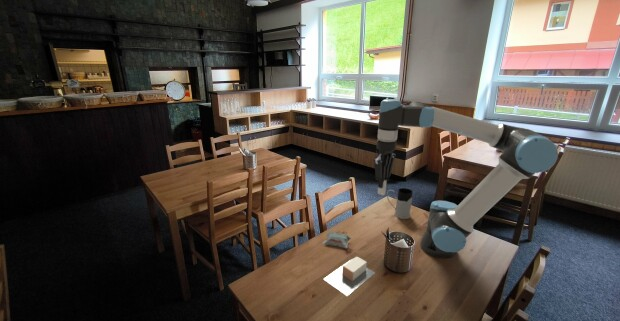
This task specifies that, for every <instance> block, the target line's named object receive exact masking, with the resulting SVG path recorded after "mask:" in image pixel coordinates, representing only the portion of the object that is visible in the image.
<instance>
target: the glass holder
mask: <svg viewBox="0 0 620 321" xmlns="http://www.w3.org/2000/svg"><path fill="white" fill-rule="evenodd" d="M390 191H391V192H393V196H394V198H395V199H396V205H393V203H391V201H390V198H389V192H390ZM386 196H387V201H388V202H389V204H390V205H391V206H392V208H394V211H395V212H394V216H395V218H399V219H401V220H408V219H410V218H411V208H412V201H413V190H412V189H410V188H403V187H402V188H399V189H398V191H397V197H396V192H395V191H394V190H393V189H389V190H387V193H386Z"/></svg>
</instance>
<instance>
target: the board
mask: <svg viewBox="0 0 620 321" xmlns="http://www.w3.org/2000/svg"><path fill="white" fill-rule="evenodd" d="M352 259H353V258H351V259H349V260H348V261H347V262H345V263H344V264H342V265H341V266H340V267H338V268H336V269H335V270H334V271H332V272H331V273H330V274H328V275H327V276H326V277H324V278H323V280H324V281H325V282H327V284H329V285H331V286H332V287H333V288H335V289H336V290H338V291H339V292H340V293H341V294H343V295H345V297H348V296H350V294H352V293H353V292H354V291H356V290H357V289H358V288H359V287H360V286H362V285H363V284H365V282H366V281H367V280H369V279H370V278H371V277H372V276H374V275H375V274H376V272H375V271H373V270H371V269H370V268H368V267H367V266H366V271H364V272H363V273H362V274H361V275H359V276H358V277H357V278H356V279H354V280H353V281H351V280H350V279H348V278H347V277H345V276H344V275H342V273H343V266H344V265H345V264H347V263H348V262H350V261H351V260H352Z"/></svg>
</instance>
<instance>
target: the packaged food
mask: <svg viewBox="0 0 620 321" xmlns="http://www.w3.org/2000/svg"><path fill="white" fill-rule="evenodd" d="M326 237H327V238H326V239H325V240H324V241H323V242H321V244H322V245H326V246H334V247H339V248H342V249H348V244H349V243H348V242H349V241H350V240H352V238H351V237H350V236H349V235H347V234H345V233H339V232H335V231H329V232H328V233H327V234H326Z"/></svg>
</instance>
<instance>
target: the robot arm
mask: <svg viewBox="0 0 620 321" xmlns="http://www.w3.org/2000/svg"><path fill="white" fill-rule="evenodd" d="M399 126H401V127H402V126H403V127H415V128H431V127H434V128H437V129H440V130H443V131H447V132H450V133H453V134H457V135H460V136H463V137H466V138H469V139H474V140H476V141H481V142H483V143H486V144H488V146H489V147H490V148H494V149H497V150H499V151H501V152H502V153H501V155H499V157H498V164H497V165H496V166H495V167H494V168H493V169H492V170H491V171H490V172H489V173H488V174H487V175H486V176H485V177H484V178H483V179H482V180H481V181H480V183H479V184H477V185H476V186H475V187H474V188H473V189H472V190H471V192H470V193H469V194H468V195H466V196H465V197H464V198H463V200H461V202H460V203H459V204H458V205H457V204H456V203H454V202H450V201H447V200H434V201H432V202H431V204H430V207H429V214H428V218H427V219H428V220H427V225H426V231H425V232H424V234H423V235H422V237H421V239H420V245H419V246H420V247H421V249H422V250H423V251H424V252H425V253H427V254H428V255H430V256H432V257H437V258H442V259H449V258H452V257H453V256H455V255H456V253H457V252H460V251H462V250H464V248H465V247H466V244H467V238H468V237H469V236H470V235H471V234H472V233H473V232H474V225H475V224H476V223H477V222H478V221H479V220H480V219H481V218H483V216H485V214H486V213H487V212H488V211H490V209H492V208H493V207H494V206H495V205H496V204H497V203H498V202H499V201H500V200H502V198H503V197H505V195H506V194H508V192H510V191H511V190H512V189H513V188H515V186H516V185H517V184H518V183H519V182H520V181H522V180H528V179H530V178H532V177H533V176H534V175H535V174H539V173H543V172H546V171H548V170H550V169H551V168H552V167H554V165H555V164H556V162H557V160H558V157H559V156H558V155H559V151H558V147H557V145H556V144H555V143H554V142H553V141H552V140H551V139H549V138H548V137H546V136H544V135H542V134H540V133H537V132H536V131H534V130H532V129H528V128H524V127H520V126H519V127H518V126H514V125H509V124H505V123H501V122H500V123H498V124H494V123H491V122H488V121H484V120H481V119H477V118H474V117H471V116H467V115H463V114H461V113H460V114H459V113H457V112H453V111H449V110H446V109H442V108H440V107H439V108H438V107H435V106H431V105H428V104H424V103H422V102H421V101H412V102H411V103H409V104H408V105H404V104H403V105H402V100H400V99H393V98H385V99H383V100H382V101H381V102H380V106H379V114H378V126H377V129H378V130H377V140H376V147H375V148H376V149H377V150H378V152H377V153H378V154H377V158H374V159H373V163H374V171H375V172H374V176H375V180H377V181H378V185H377V186H378V187H377V195H381V196H385V195H386V189H387V182H388V181H389V180H390V177H391V174H392V171H393V166H394V161H395V159H396V156H397V153H394V151H396V150H397V143H398V142H397V140H398V132H399Z"/></svg>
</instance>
